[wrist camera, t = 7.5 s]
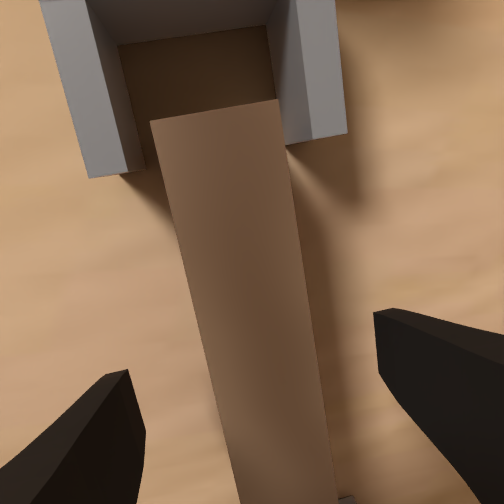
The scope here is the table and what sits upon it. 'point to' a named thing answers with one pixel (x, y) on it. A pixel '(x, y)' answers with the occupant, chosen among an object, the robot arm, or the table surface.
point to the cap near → (184, 24)
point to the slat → (250, 296)
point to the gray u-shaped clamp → (347, 500)
